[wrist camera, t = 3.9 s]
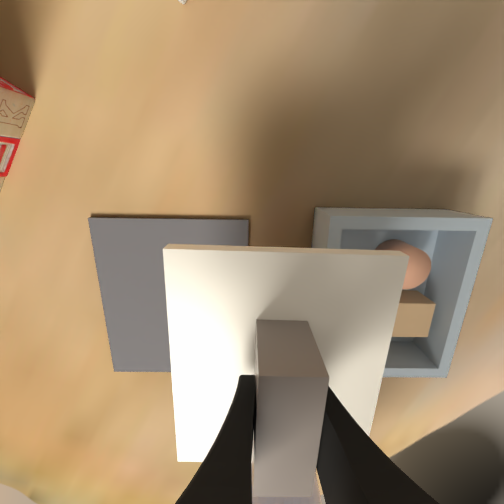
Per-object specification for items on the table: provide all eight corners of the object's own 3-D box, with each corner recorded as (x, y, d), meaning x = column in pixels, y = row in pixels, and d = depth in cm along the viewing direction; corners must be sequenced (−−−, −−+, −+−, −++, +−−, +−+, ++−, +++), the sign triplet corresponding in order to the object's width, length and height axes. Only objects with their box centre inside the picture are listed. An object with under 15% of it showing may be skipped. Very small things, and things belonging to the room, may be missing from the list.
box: (414, 343, 23) (446, 377, 20) (303, 342, 23) (313, 376, 19) (446, 209, 20) (492, 218, 16) (314, 207, 20) (330, 216, 16)
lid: (353, 440, 16) (395, 548, 12) (183, 437, 16) (156, 546, 11) (392, 247, 13) (477, 292, 8) (172, 240, 12) (125, 282, 8)
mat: (246, 370, 24) (246, 372, 24) (115, 369, 24) (114, 371, 24) (248, 219, 20) (248, 220, 20) (90, 217, 20) (88, 217, 20)
